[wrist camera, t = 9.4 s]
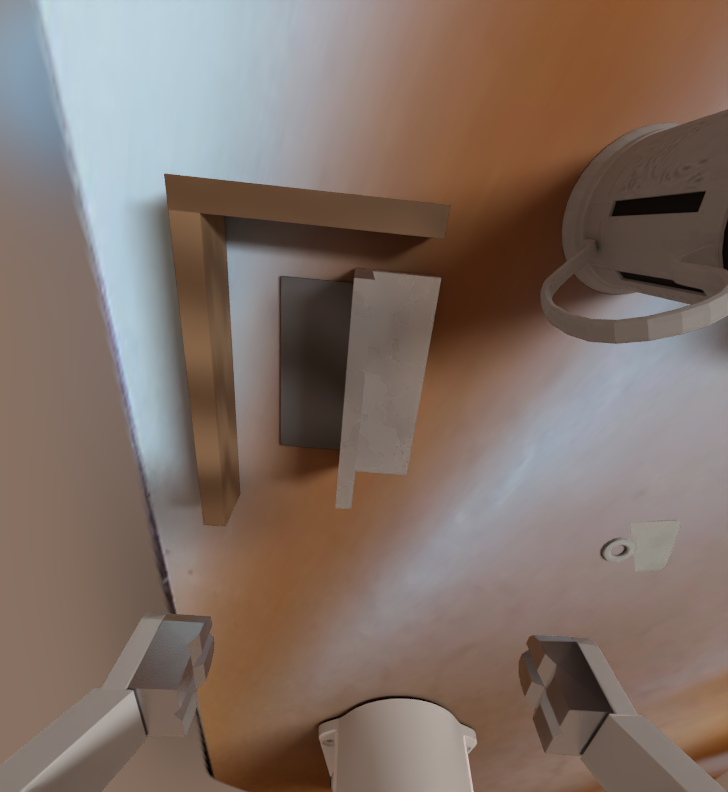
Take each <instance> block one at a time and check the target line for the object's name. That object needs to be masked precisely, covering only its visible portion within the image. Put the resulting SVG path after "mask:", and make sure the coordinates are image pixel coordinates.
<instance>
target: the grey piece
mask: <svg viewBox="0 0 728 792" xmlns="http://www.w3.org/2000/svg"><path fill="white" fill-rule="evenodd" d="M630 524H631V533H632V540H630V539H628V538H622V537H620V538H615V539H613V540H611V541H609V542H607V543H606V544H605V545H604V546H603V548H602V550H601V555H602V556H603V558H604V559H606V560H608V561H610V562H619V561H623V560H625V559H628V558H629V557H630V556H631V555H632V554H633V552H634V562H635V571H655V570H660V569H662V568H663V567H664V566H665V565H666V564H667V562H668V559H669V557H670V554H671V551H672V549H673V546H674V543H675V541H676V538H677V535H678V533H679V530H680V523H679V522H678V521H676V520H668V521H652V522H637V523H630ZM617 545H624V546H626V549H625V551H624V552H623V553H621V554H619V555H612V554H610V551H611V549H612V548H613V547H615V546H617Z"/></svg>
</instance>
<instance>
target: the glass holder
mask: <svg viewBox="0 0 728 792" xmlns="http://www.w3.org/2000/svg"><path fill="white" fill-rule="evenodd" d="M562 247H563V251H564V255H565V258H566V262H565V263H564V264H563V265H562V266H560V267H559V268H558V269H557V270H556V271H555V272H553V273H552V274H551V275H550V276H549V277H548V278H547V279H546V280H545V281H544V283H543V286H542V289H541V292H540V298H541V307H542V311H543V312H544V314H545V316H546V317H547V319H548V320H549V322H550V323H551V324H552V325H554V326H555V327H557V328H558V329H560V330H561V331H563V332H565V333H566V334H568V335H571V336H574V337H577V338H580V339H583V340H586V341H589V342H602V343H615V344H617V343H629V342H641V341H651V340H656V339H661V338H665V337H670V336H675V335H680V334H684V333H687V332H690V331H694V330H697V329H700V328H703V327H707V326H709V325H711V324H713V323H715V322H717V321H719V320H721V319H723V318H725V317H727V316H728V110H725V111H722V112H718V113H715V114H712V115H709V116H706V117H703V118H700V119H697V120H694V121H691V122H688V123H685V124H682V125H680V124H670V123H662V124H655V125H648V126H645V127H642V128H639V129H636V130H633V131H631V132H629V133H627V134H625V135H624V136H622V137H620V138H618V139H617V140H615V141H614V142H613V143H611V144H610V145H609V146H607V147H606V148H604V149H603V150H602V151H601V152H600V153H599V154H598V155H597V156H596V157H595V158H594V159H593V160H592V161H591V163H590V164H589V165H588V167H587V168H586V169H585V170H584V172H583V173H582V174H581V176H580V178H579V179H578V181H577V183H576V185H575V186H574V188H573V190H572V193H571V195H570V197H569V200H568V202H567V205H566V209H565V213H564V217H563V224H562ZM573 274H575V276H576V277H577V278H578V279H579V280H580V281H581V282H583V283H584V284H585V285H586V286H588V287H590V288H592V289H594V290H596V291H600V292H603V293H607V294H629V293H635V292H639V293H643V294H647V295H652V296H656V297H661V298H665V299H669V300H674V301H678V302H682V303H687V304H691V305H689V306H686V307H682V308H679V309H676V310H672V311H668V312H663V313H659V314H655V315H650V316H646V317H638V318H630V319H622V320H601V319H589V318H586V317H582V316H578V315H574V314H571V313H569V312H567V311H565V310H564V309H562V308H560V307H558V306H556V305H555V304H554V302H553V301H552V299H553V296H554V293H555V292H556V291H557V290H558V289H559V287H560V286H561V285H562V284H563V283H564V282H565V281H566V280H567V279H569V278H570V277H571V276H572V275H573Z"/></svg>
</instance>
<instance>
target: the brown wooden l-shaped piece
mask: <svg viewBox="0 0 728 792" xmlns="http://www.w3.org/2000/svg"><path fill="white" fill-rule="evenodd" d="M164 176H165V185H166V194H167V203H168V212H169V221H170V230H171V239H172V247H173V256H174V265H175V274H176V283H177V292H178V301H179V310H180V318H181V327H182V336H183V345H184V354H185V363H186V372H187V381H188V389H189V398H190V407H191V416H192V425H193V434H194V443H195V452H196V460H197V469H198V478H199V487H200V496H201V505H202V514H203V523H204V525H211V526H226V524H227V522H228V519H229V517H230V515H231V513H232V511H233V508H234V506H235V504H236V502H237V500H238V498H239V495H240V482H239V464H238V446H237V428H236V410H235V392H234V374H233V356H232V338H231V321H230V303H229V285H228V267H227V249H226V231H225V216H232V217H242V218H251V219H261V220H270V221H279V222H289V223H298V224H308V225H317V226H327V227H336V228H346V229H355V230H365V231H374V232H383V233H393V234H402V235H412V236H421V237H431V238H440V239H445V233H446V227H447V222H448V216H449V210H450V205H444V204H435V203H426V202H417V201H408V200H399V199H390V198H381V197H371V196H362V195H353V194H344V193H335V192H326V191H317V190H308V189H299V188H290V187H280V186H271V185H262V184H253V183H244V182H235V181H226V180H217V179H208V178H199V177H189V176H180V175H171V174H164ZM353 285H354V283H348V282H338V281H328V280H318V279H308V278H298V277H288V276H281V445H284V446H297V447H309V448H322V449H335V450H340V445H341V433H342V420H343V408H344V396H345V384H346V371H347V359H348V347H349V334H350V322H351V310H352V297H353Z"/></svg>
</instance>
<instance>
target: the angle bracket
mask: <svg viewBox="0 0 728 792" xmlns="http://www.w3.org/2000/svg"><path fill="white" fill-rule="evenodd" d="M440 283H441V277H439V276H433V275H423V274H413V273H403V272H393V271H384V270H374V269H364V268H356V269H355V275H354V285H353V297H352V310H351V322H350V334H349V347H348V359H347V371H346V384H345V396H344V408H343V420H342V433H341V445H340V457H339V470H338V482H337V494H336V507H335V508H344V509H351V506H352V496H353V487H354V477H355V471H360V472H373V473H386V474H399V475H407V470H408V465H409V459H410V453H411V448H412V442H413V436H414V431H415V425H416V419H417V414H418V408H419V402H420V397H421V391H422V385H423V380H424V374H425V368H426V363H427V357H428V351H429V346H430V340H431V334H432V329H433V323H434V317H435V312H436V306H437V300H438V295H439V289H440Z"/></svg>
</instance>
